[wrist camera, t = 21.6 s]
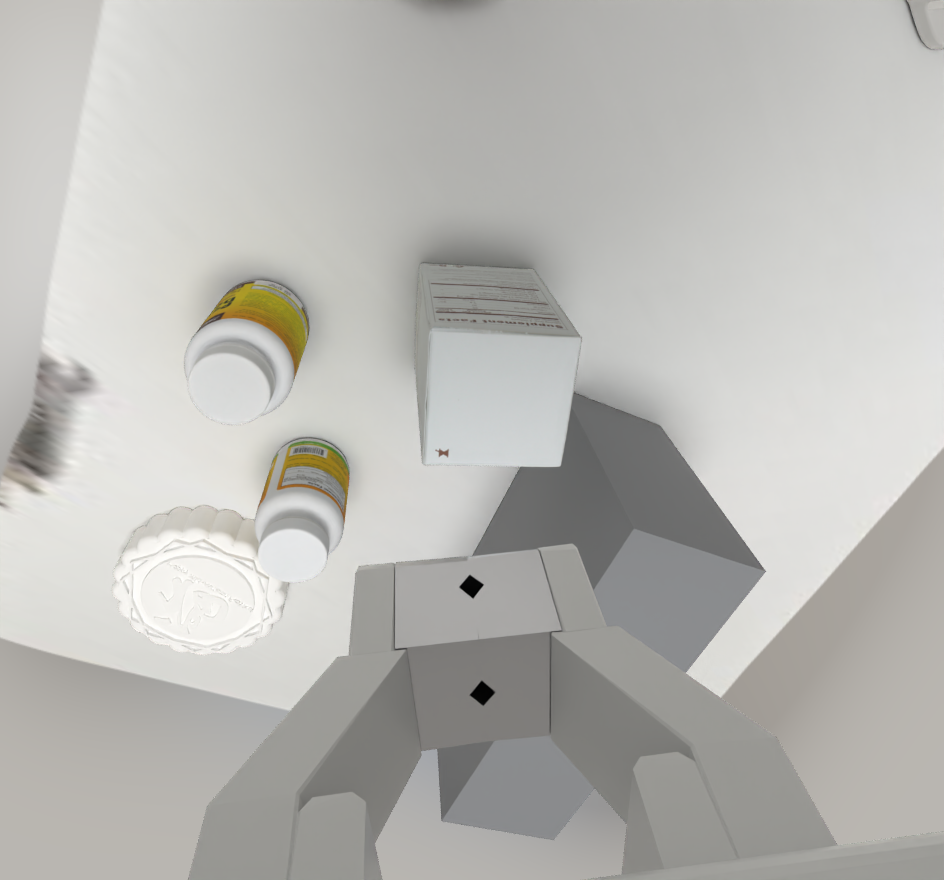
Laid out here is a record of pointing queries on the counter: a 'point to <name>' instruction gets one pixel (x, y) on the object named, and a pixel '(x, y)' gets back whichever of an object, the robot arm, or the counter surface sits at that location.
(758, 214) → the counter surface
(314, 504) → the supplement bottle
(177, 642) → the mooncake
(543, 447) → the supplement box
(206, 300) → the counter surface
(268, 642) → the counter surface
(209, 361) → the supplement bottle
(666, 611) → the console
